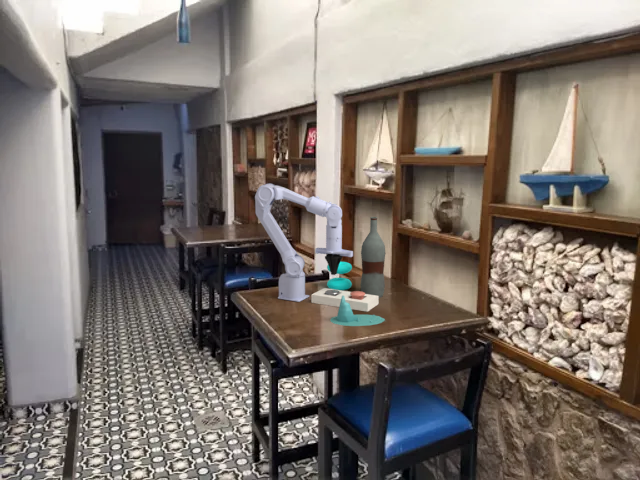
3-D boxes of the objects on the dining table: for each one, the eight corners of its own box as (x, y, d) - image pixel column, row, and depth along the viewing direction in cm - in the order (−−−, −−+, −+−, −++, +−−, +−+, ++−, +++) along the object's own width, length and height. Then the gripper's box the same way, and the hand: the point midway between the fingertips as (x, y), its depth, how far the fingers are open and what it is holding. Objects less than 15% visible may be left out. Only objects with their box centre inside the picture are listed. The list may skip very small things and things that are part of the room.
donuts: (353, 261, 197) (349, 266, 187) (353, 285, 198) (349, 291, 189) (329, 260, 199) (324, 265, 189) (329, 283, 201) (324, 290, 191)
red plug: (347, 302, 170) (347, 293, 170) (353, 298, 175) (354, 290, 174) (361, 304, 168) (361, 295, 167) (367, 300, 172) (367, 292, 172)
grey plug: (322, 300, 175) (322, 292, 175) (329, 297, 180) (329, 289, 179) (335, 302, 173) (335, 294, 172) (341, 299, 177) (342, 290, 177)
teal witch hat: (392, 326, 151) (392, 300, 150) (328, 328, 150) (328, 301, 148) (384, 314, 163) (384, 289, 161) (325, 315, 161) (325, 291, 160)
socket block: (311, 302, 175) (311, 294, 174) (324, 295, 183) (324, 288, 183) (367, 311, 164) (367, 303, 164) (378, 303, 173) (378, 295, 173)
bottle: (380, 300, 178) (382, 219, 173) (357, 297, 181) (358, 218, 176) (387, 293, 186) (389, 216, 181) (364, 291, 190) (366, 215, 185)
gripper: (311, 237, 175) (311, 274, 178) (347, 241, 169) (346, 278, 171) (320, 235, 181) (320, 270, 184) (355, 238, 175) (355, 274, 177)
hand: (333, 274), depth 178 cm, fingers closed
